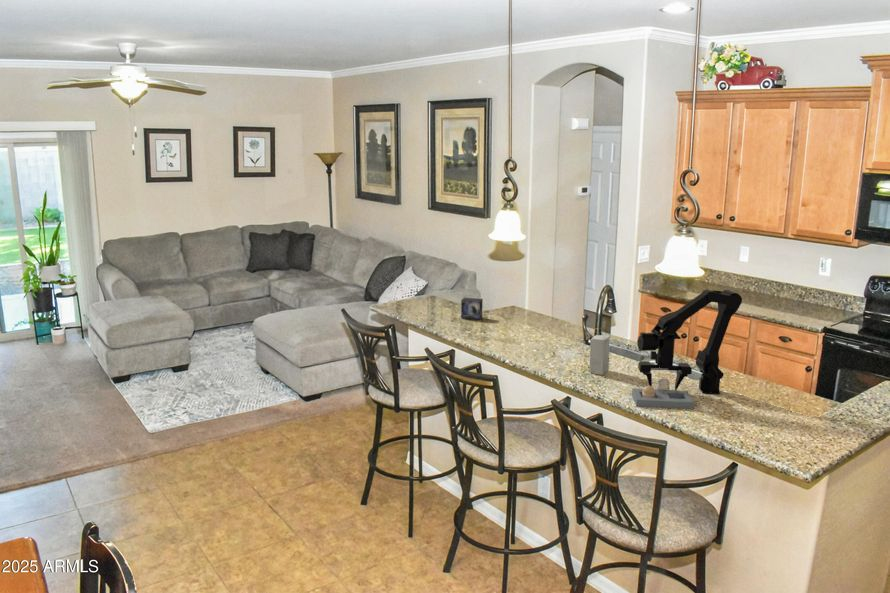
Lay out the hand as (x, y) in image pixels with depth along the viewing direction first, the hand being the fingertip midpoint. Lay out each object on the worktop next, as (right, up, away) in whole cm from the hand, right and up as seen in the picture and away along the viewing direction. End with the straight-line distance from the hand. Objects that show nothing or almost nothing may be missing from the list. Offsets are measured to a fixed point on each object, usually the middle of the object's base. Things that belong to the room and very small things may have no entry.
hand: (663, 389), depth 266 cm
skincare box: (-19, +4, +24) cm, 31 cm away
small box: (-68, +23, +111) cm, 132 cm away
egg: (0, -1, 0) cm, 1 cm away
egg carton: (-3, -3, -9) cm, 10 cm away
